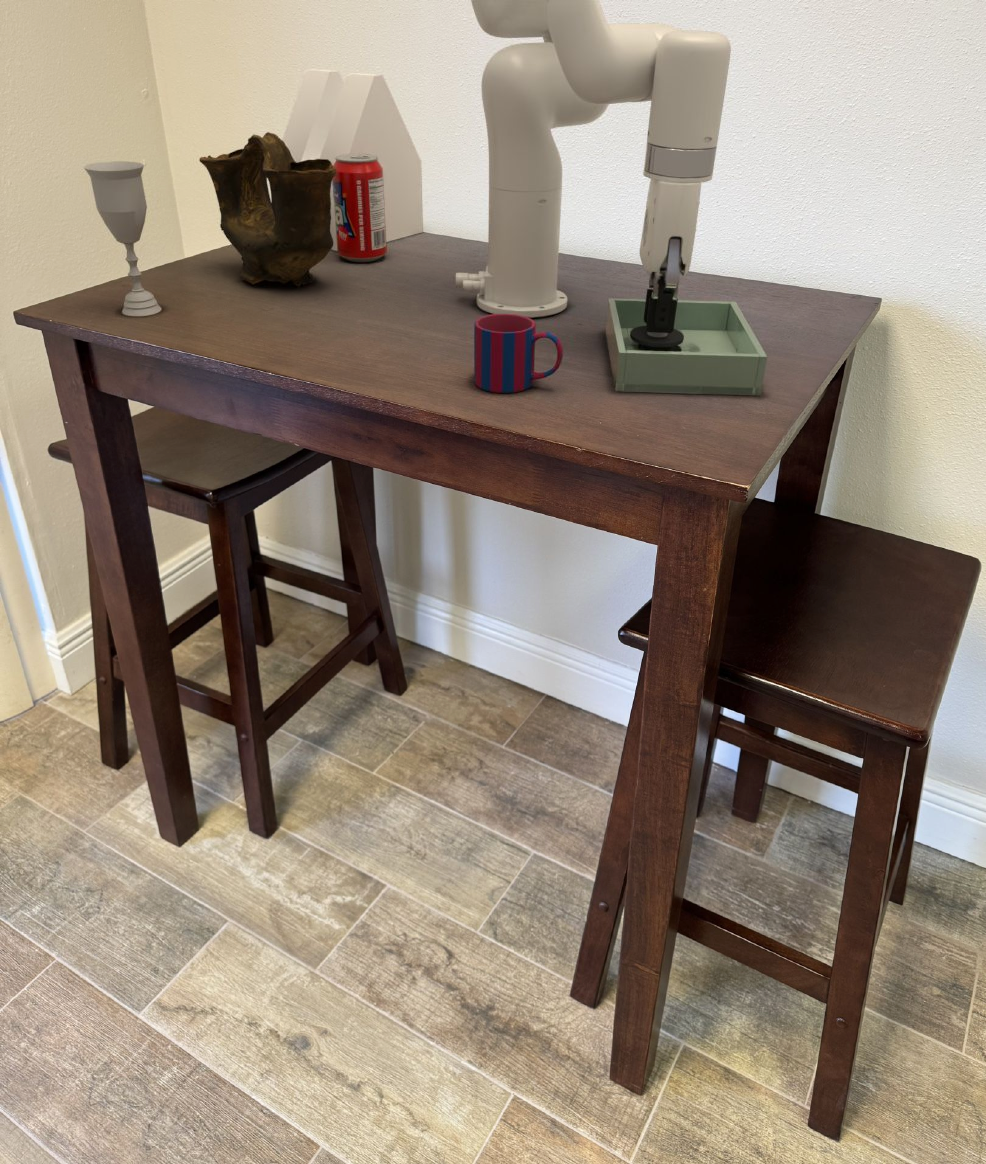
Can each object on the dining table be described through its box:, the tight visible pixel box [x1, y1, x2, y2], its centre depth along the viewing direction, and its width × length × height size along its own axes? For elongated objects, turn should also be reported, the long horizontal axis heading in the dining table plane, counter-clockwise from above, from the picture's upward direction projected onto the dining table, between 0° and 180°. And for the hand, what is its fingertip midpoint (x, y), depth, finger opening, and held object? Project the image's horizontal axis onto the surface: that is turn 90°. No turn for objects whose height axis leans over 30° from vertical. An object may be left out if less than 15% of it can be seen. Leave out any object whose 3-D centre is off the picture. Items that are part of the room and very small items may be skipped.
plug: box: [630, 292, 684, 351], centre depth 112 cm, size 6×6×6 cm
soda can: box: [332, 154, 388, 263], centre depth 146 cm, size 8×8×15 cm
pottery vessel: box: [199, 131, 337, 287], centre depth 134 cm, size 25×11×20 cm, turn 46°
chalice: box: [83, 160, 162, 317], centre depth 121 cm, size 7×7×18 cm
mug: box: [473, 313, 564, 394], centre depth 103 cm, size 7×10×7 cm
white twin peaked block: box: [281, 68, 424, 252], centre depth 156 cm, size 19×15×25 cm
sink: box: [605, 297, 768, 397], centre depth 111 cm, size 16×20×4 cm
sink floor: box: [605, 328, 762, 396], centre depth 112 cm, size 16×20×1 cm
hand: (658, 325), depth 113 cm, fingers closed on plug, 2 cm apart
